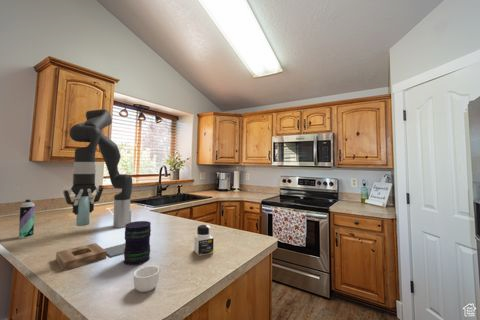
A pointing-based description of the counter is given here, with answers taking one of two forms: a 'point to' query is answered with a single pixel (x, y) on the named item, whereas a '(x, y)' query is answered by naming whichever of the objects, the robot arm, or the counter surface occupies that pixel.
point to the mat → (115, 250)
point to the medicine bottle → (203, 240)
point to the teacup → (146, 278)
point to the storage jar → (137, 242)
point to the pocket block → (80, 256)
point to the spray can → (26, 219)
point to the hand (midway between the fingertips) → (83, 213)
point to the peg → (83, 211)
